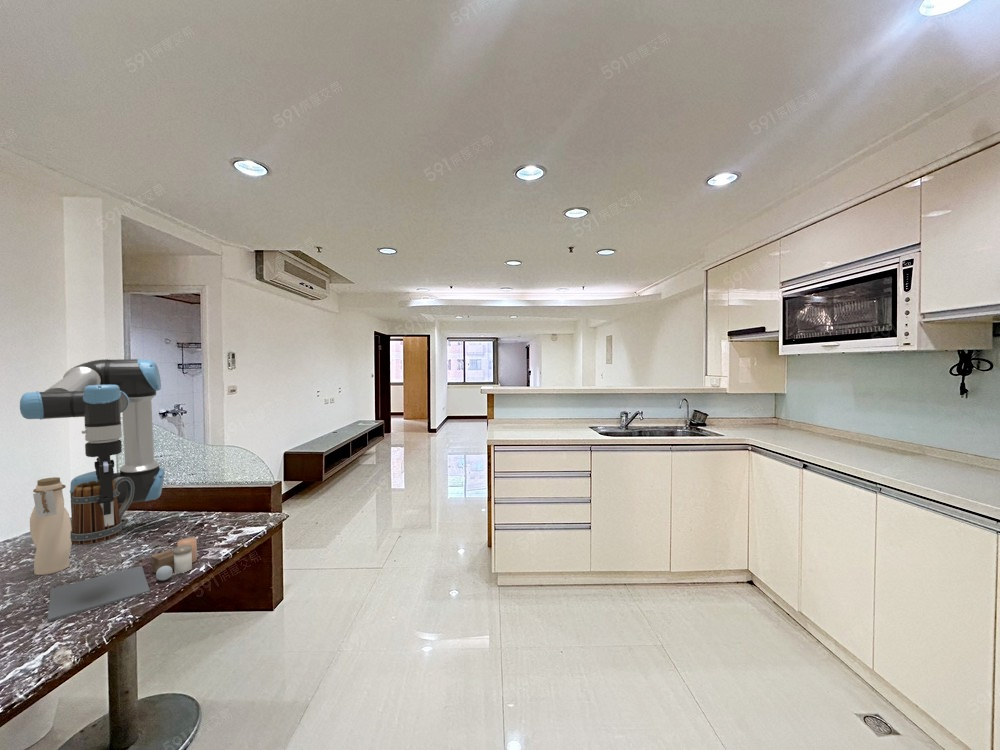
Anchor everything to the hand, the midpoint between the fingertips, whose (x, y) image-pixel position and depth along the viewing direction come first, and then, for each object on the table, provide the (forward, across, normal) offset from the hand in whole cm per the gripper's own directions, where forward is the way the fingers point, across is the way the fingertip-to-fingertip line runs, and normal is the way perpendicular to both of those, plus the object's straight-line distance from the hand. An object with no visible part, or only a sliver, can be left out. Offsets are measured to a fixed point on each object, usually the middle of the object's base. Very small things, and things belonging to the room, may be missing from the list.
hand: (106, 521), depth 124 cm
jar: (+20, 0, +17) cm, 26 cm away
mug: (+4, -1, 0) cm, 4 cm away
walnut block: (+20, -4, +13) cm, 25 cm away
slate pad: (+20, -2, -2) cm, 20 cm away
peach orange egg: (+20, -6, +19) cm, 29 cm away
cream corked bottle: (+20, -29, -11) cm, 37 cm away
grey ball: (+18, +2, +12) cm, 22 cm away
